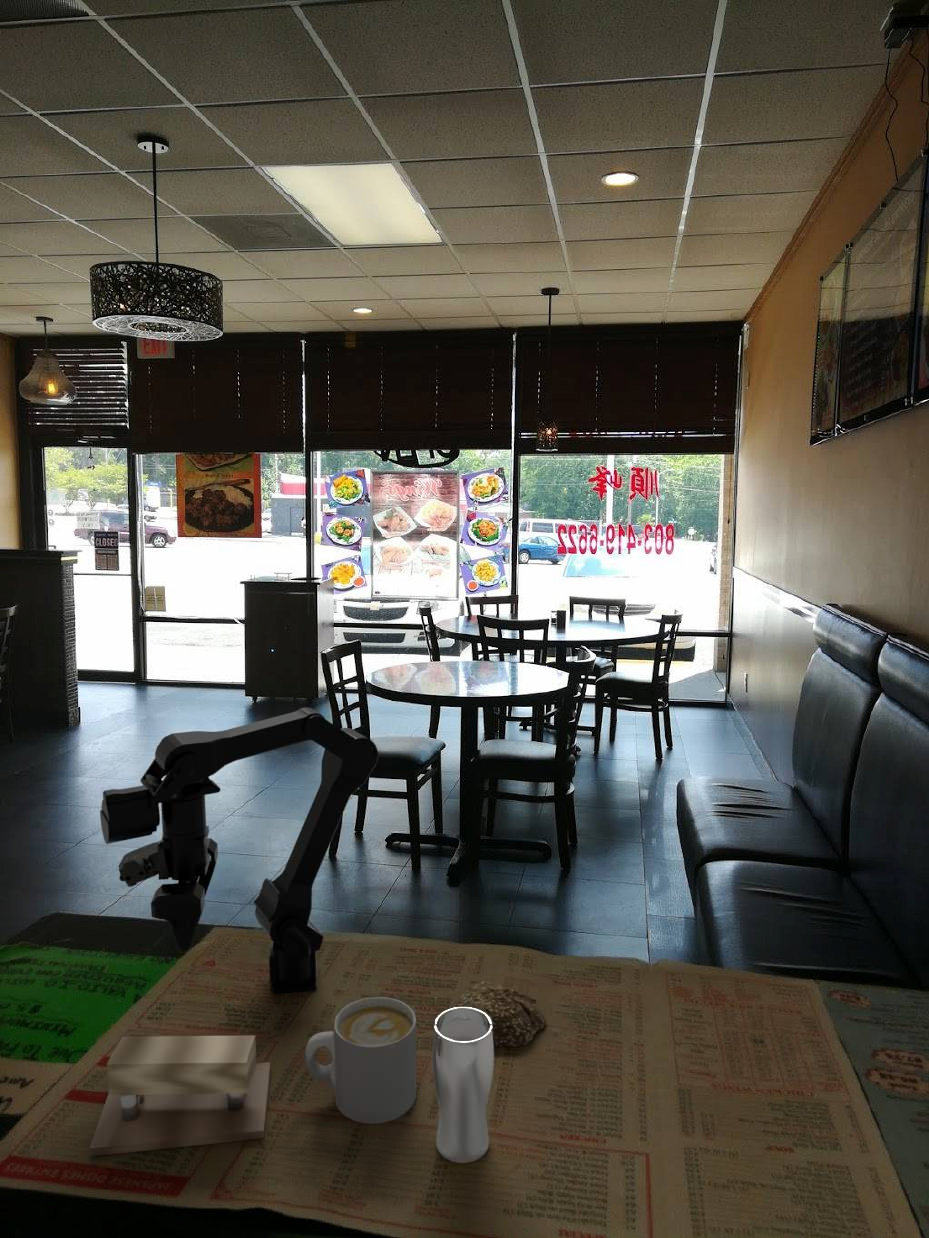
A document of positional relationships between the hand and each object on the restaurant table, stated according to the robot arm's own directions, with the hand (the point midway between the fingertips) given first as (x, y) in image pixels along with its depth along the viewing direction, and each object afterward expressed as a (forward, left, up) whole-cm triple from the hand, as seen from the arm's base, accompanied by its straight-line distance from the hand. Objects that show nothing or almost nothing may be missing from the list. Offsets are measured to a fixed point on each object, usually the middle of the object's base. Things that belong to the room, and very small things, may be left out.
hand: (189, 932), depth 123 cm
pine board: (-2, +20, -8) cm, 22 cm away
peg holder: (-2, +20, -12) cm, 23 cm away
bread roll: (-43, +8, -13) cm, 45 cm away
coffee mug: (-23, +20, -12) cm, 33 cm away
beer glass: (-34, +30, -12) cm, 47 cm away
